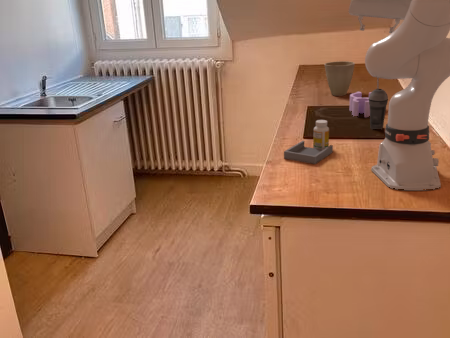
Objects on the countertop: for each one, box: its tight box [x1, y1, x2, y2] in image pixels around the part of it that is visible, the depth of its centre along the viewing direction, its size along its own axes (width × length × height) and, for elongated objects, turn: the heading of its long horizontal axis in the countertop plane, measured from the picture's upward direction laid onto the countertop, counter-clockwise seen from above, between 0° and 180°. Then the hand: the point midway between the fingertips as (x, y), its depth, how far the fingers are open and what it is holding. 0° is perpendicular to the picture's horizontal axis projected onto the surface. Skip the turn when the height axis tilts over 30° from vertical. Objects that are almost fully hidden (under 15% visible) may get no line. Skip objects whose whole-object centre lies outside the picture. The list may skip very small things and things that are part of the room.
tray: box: [283, 140, 334, 165], centre depth 158 cm, size 13×12×2 cm
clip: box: [348, 91, 372, 118], centre depth 206 cm, size 20×12×7 cm, turn 160°
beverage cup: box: [368, 77, 389, 130], centre depth 179 cm, size 7×7×20 cm
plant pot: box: [324, 60, 356, 97], centre depth 239 cm, size 15×15×16 cm
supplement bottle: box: [312, 119, 330, 150], centre depth 164 cm, size 5×5×10 cm
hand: (376, 31), depth 154 cm, fingers open, 8 cm apart
